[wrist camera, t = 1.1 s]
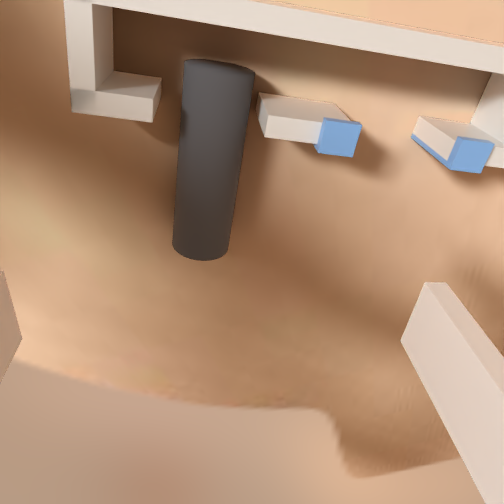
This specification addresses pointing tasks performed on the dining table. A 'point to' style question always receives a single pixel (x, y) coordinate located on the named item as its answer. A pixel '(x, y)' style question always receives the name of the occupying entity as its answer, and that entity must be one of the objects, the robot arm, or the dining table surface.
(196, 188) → the dark gray cylinder
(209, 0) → the white u-shaped bracket
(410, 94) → the dining table surface
